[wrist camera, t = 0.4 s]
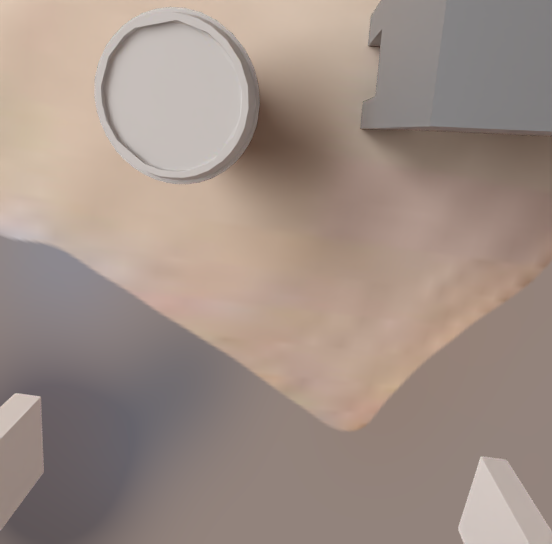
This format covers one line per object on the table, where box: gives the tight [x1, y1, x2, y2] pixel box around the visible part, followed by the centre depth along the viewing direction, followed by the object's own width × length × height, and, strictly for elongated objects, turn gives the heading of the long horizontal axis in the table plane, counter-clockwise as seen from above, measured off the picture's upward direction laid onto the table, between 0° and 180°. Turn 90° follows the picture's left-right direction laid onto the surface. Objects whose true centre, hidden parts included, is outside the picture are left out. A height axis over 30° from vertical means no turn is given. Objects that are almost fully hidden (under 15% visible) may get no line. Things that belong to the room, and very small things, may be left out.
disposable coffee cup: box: [95, 7, 260, 184], centre depth 31 cm, size 10×10×12 cm
